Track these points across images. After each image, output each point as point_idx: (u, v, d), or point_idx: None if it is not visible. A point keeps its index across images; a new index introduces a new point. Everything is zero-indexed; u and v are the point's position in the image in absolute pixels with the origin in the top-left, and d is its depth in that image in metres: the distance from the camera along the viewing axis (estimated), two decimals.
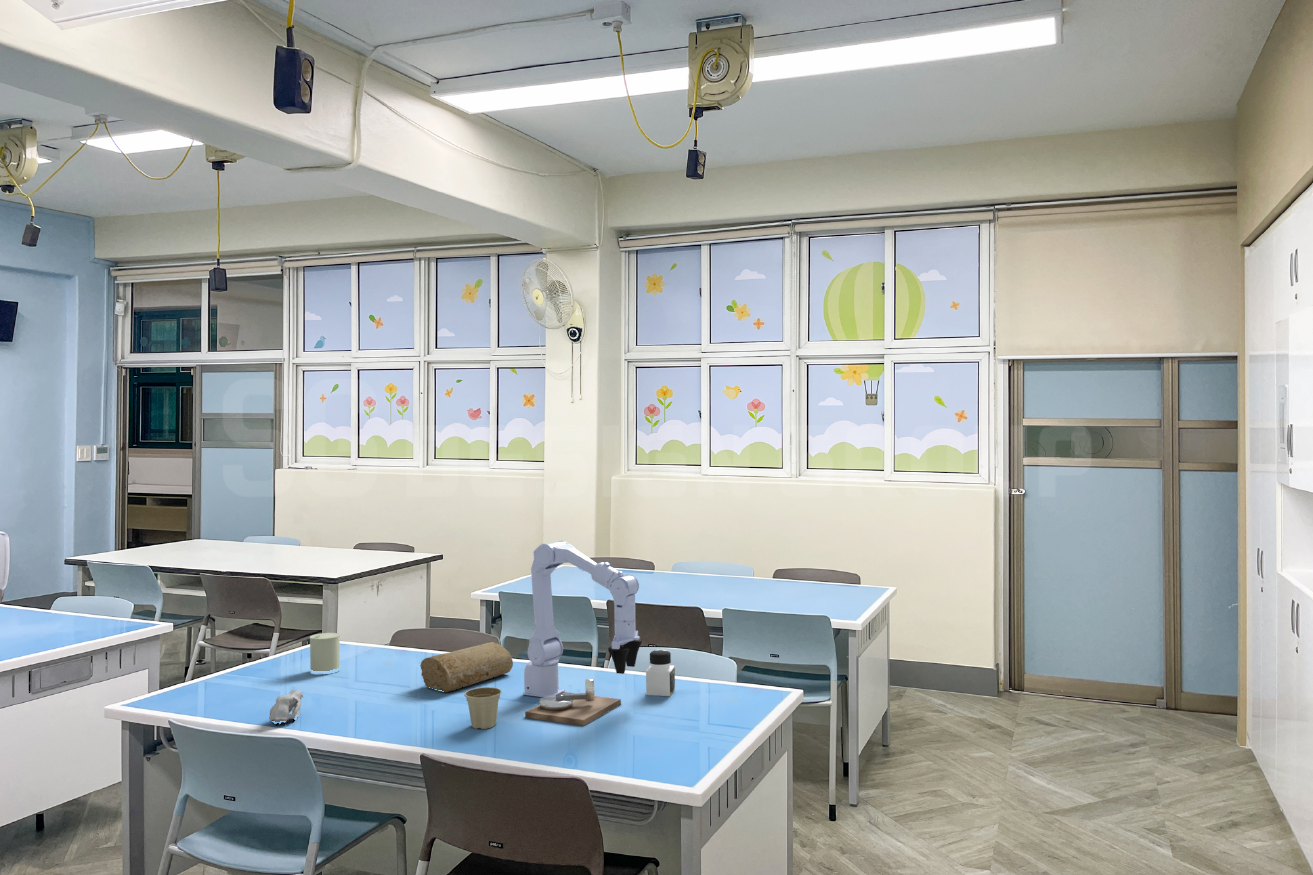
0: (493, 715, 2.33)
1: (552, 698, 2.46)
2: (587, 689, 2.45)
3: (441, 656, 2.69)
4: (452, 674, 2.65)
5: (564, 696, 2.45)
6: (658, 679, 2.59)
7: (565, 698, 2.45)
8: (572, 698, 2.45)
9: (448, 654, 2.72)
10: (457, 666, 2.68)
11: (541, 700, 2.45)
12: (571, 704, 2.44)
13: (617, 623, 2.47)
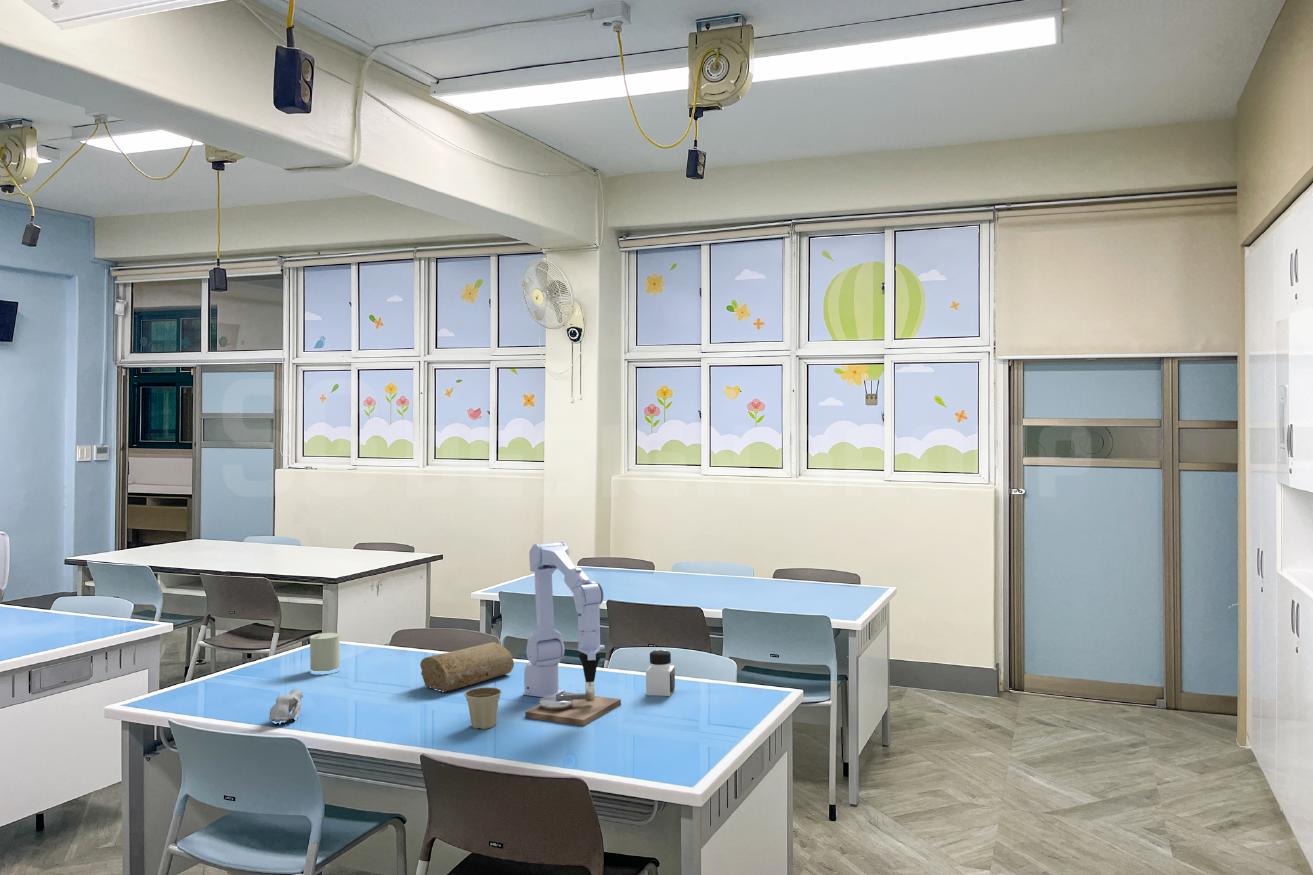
0: (493, 715, 2.33)
1: (552, 698, 2.46)
2: (587, 689, 2.45)
3: (440, 656, 2.70)
4: (450, 674, 2.65)
5: (564, 696, 2.45)
6: (658, 679, 2.59)
7: (565, 698, 2.45)
8: (572, 698, 2.45)
9: (448, 654, 2.73)
10: (455, 666, 2.68)
11: (541, 700, 2.45)
12: (571, 704, 2.44)
13: (585, 633, 2.37)
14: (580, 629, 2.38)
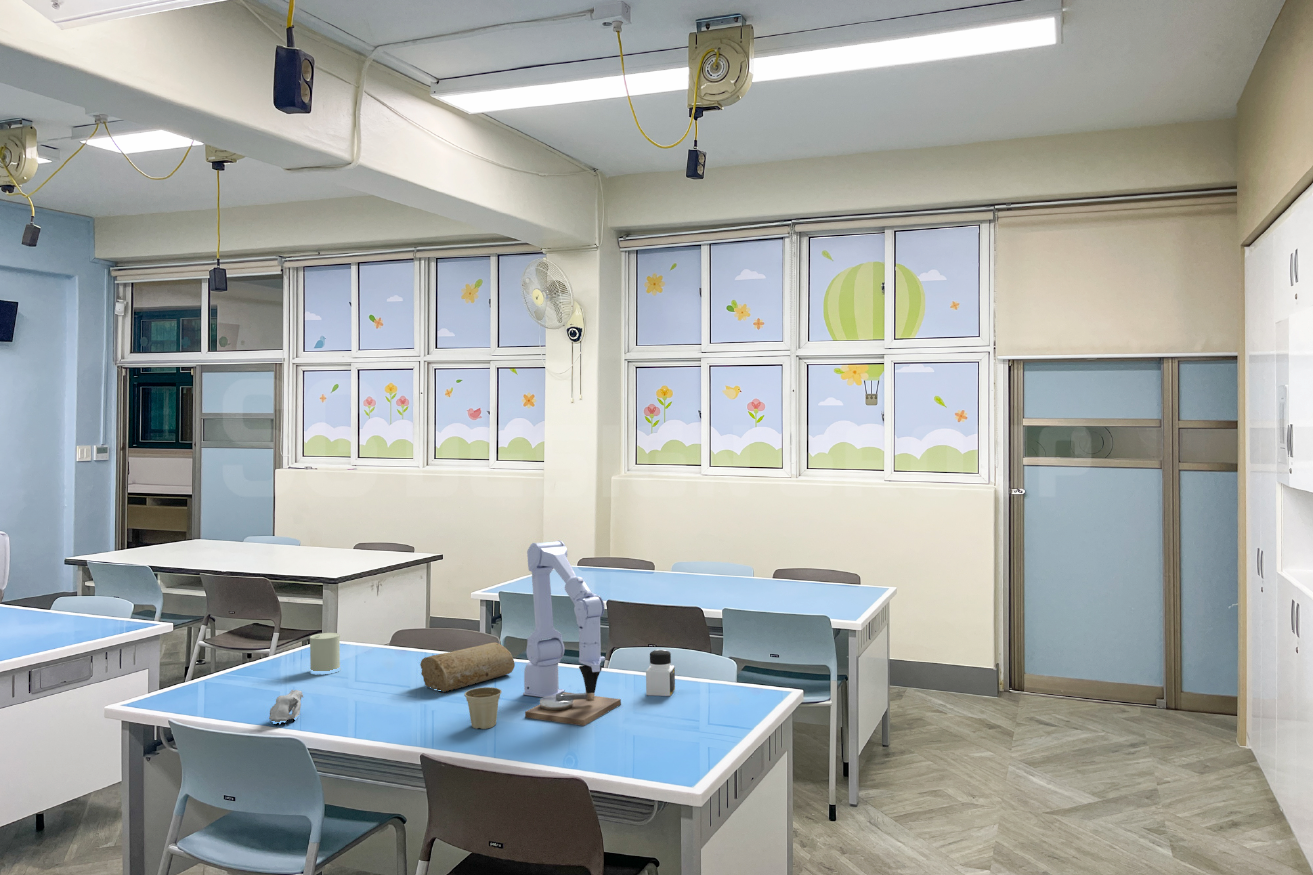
0: (493, 715, 2.33)
1: (552, 698, 2.46)
2: None
3: (440, 656, 2.70)
4: (449, 674, 2.65)
5: (564, 696, 2.45)
6: (658, 679, 2.59)
7: (565, 698, 2.45)
8: (572, 698, 2.45)
9: (447, 654, 2.73)
10: (455, 666, 2.68)
11: (541, 700, 2.45)
12: (571, 704, 2.44)
13: (587, 646, 2.41)
14: (582, 641, 2.42)
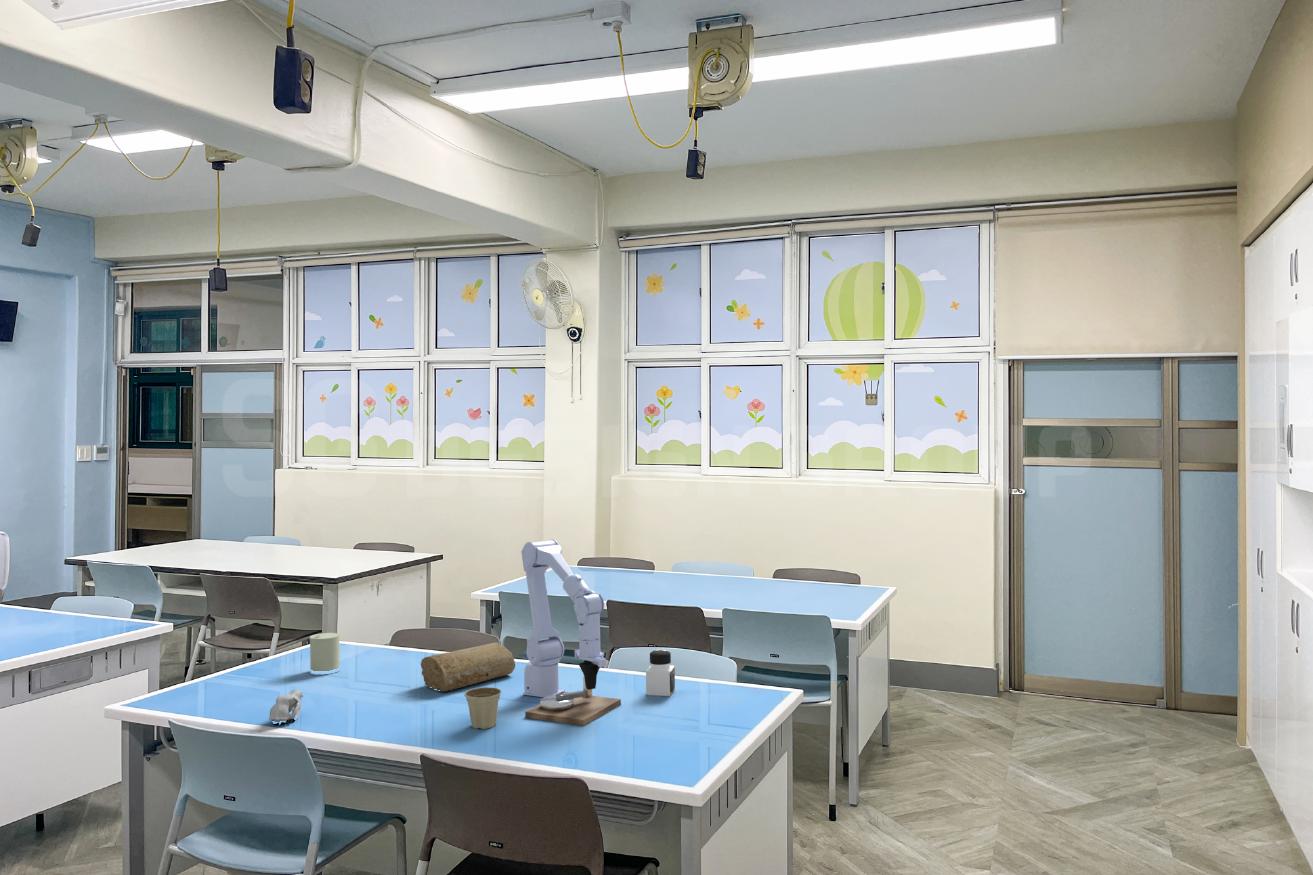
0: (493, 715, 2.33)
1: (551, 699, 2.45)
2: None
3: (440, 656, 2.70)
4: (449, 674, 2.65)
5: (565, 695, 2.45)
6: (658, 679, 2.59)
7: (566, 697, 2.45)
8: (572, 697, 2.46)
9: (448, 654, 2.73)
10: (454, 666, 2.68)
11: (543, 702, 2.43)
12: (573, 702, 2.45)
13: (590, 642, 2.45)
14: (582, 638, 2.45)
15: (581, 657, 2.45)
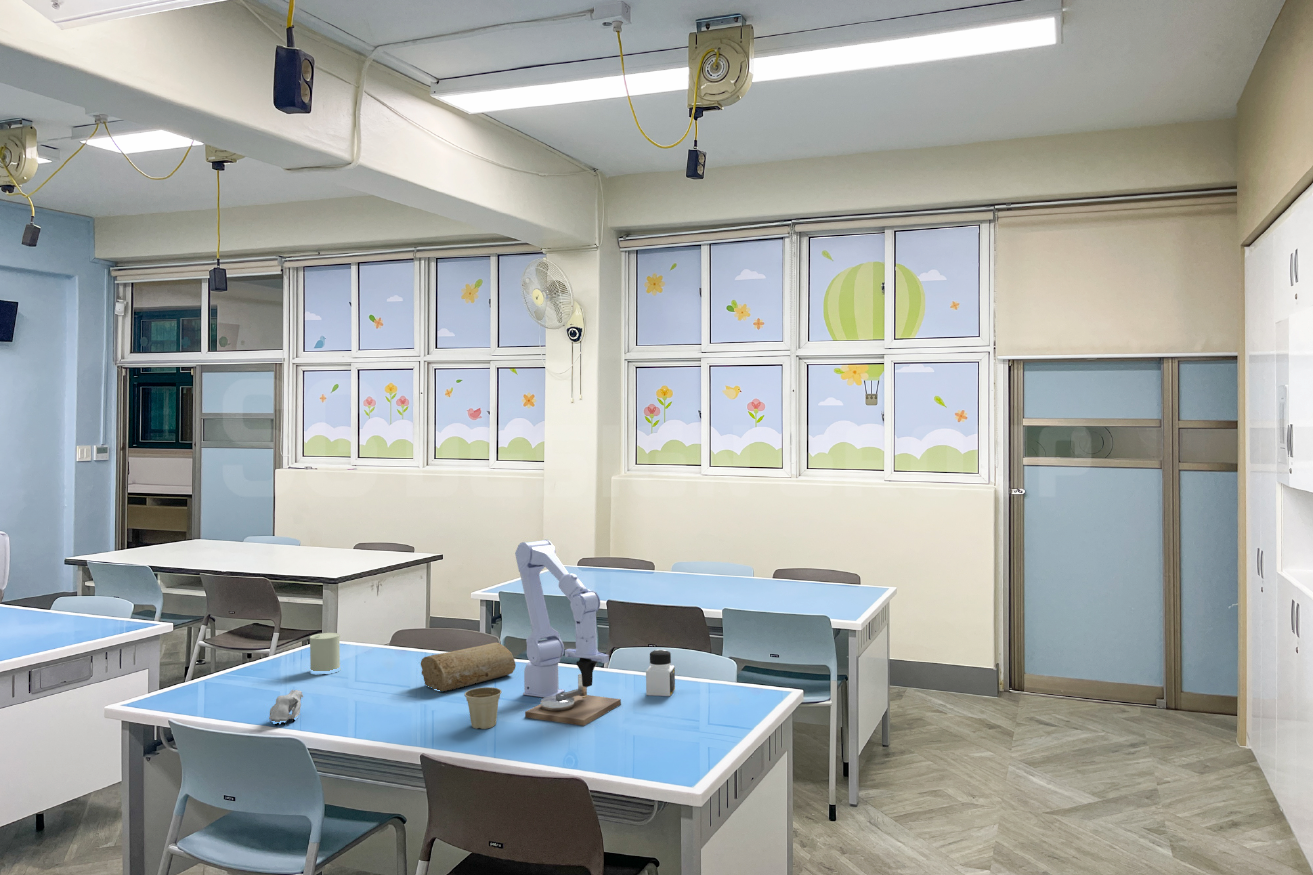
0: (493, 715, 2.33)
1: (552, 700, 2.44)
2: None
3: (439, 656, 2.70)
4: (448, 674, 2.65)
5: (565, 695, 2.46)
6: (658, 679, 2.59)
7: (566, 697, 2.46)
8: (571, 696, 2.47)
9: (447, 654, 2.73)
10: (454, 666, 2.68)
11: (546, 703, 2.42)
12: None
13: (590, 639, 2.48)
14: (579, 636, 2.48)
15: (580, 655, 2.47)
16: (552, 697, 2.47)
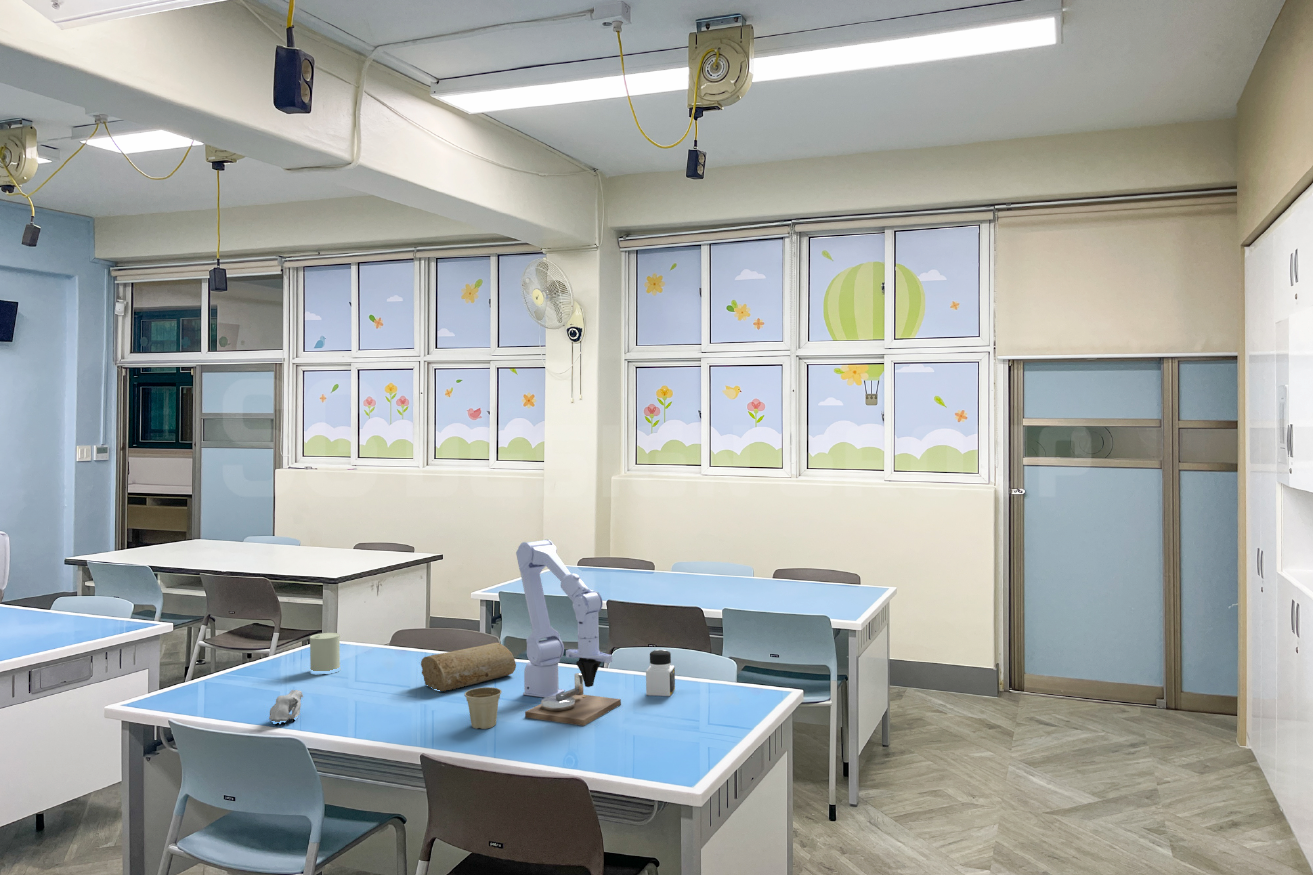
0: (493, 715, 2.33)
1: (552, 700, 2.44)
2: (580, 683, 2.51)
3: (439, 656, 2.70)
4: (447, 674, 2.65)
5: (565, 695, 2.46)
6: (658, 679, 2.59)
7: (566, 696, 2.46)
8: (570, 695, 2.48)
9: (447, 654, 2.73)
10: (453, 666, 2.68)
11: (549, 704, 2.41)
12: None
13: (593, 640, 2.48)
14: (582, 636, 2.48)
15: (583, 655, 2.47)
16: (551, 697, 2.47)
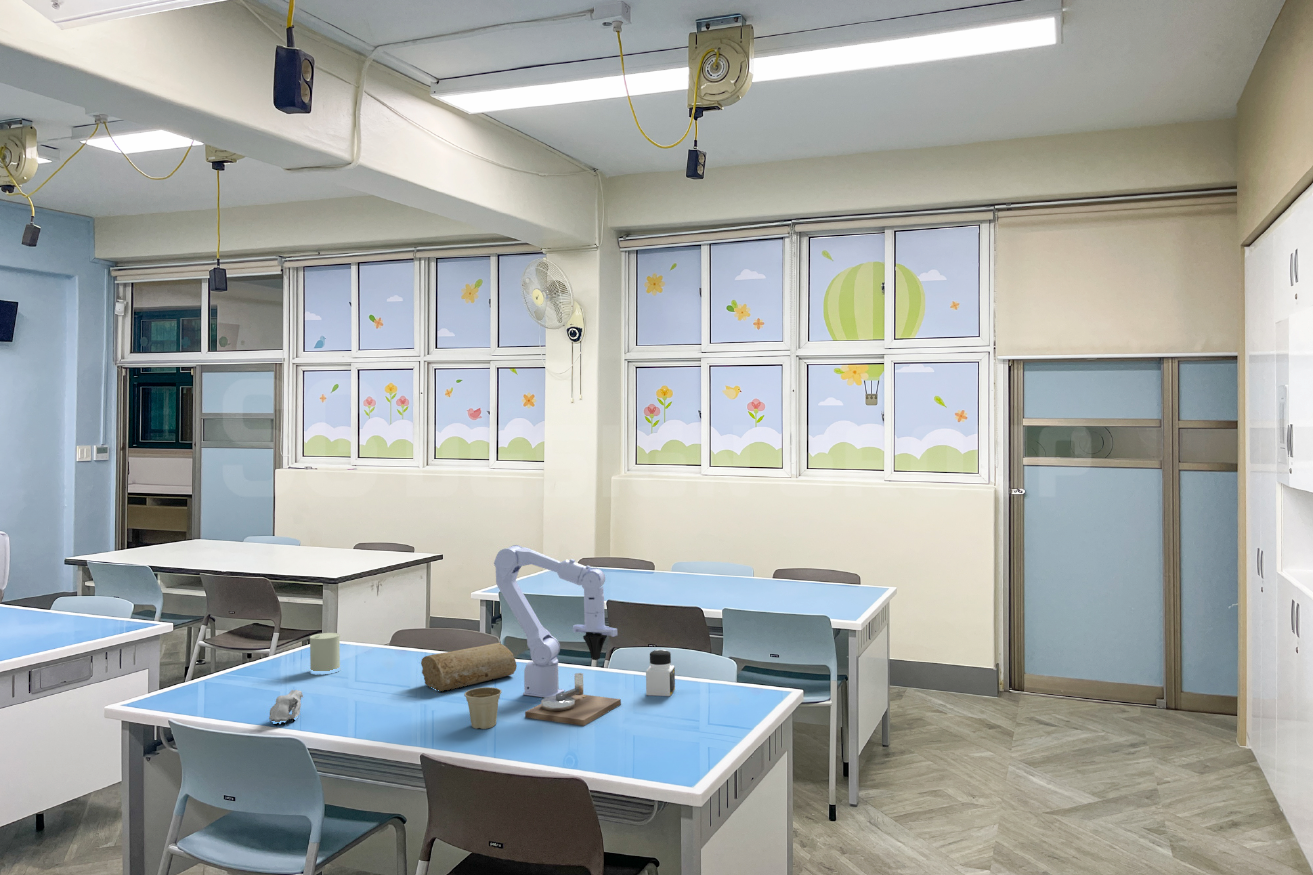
0: (493, 715, 2.33)
1: (552, 700, 2.44)
2: (580, 683, 2.51)
3: (439, 655, 2.71)
4: (446, 674, 2.65)
5: (565, 695, 2.46)
6: (658, 679, 2.59)
7: (566, 696, 2.46)
8: (570, 695, 2.48)
9: (447, 653, 2.73)
10: (452, 666, 2.68)
11: (549, 704, 2.41)
12: None
13: (599, 614, 2.58)
14: (593, 611, 2.57)
15: (590, 629, 2.57)
16: (551, 697, 2.47)
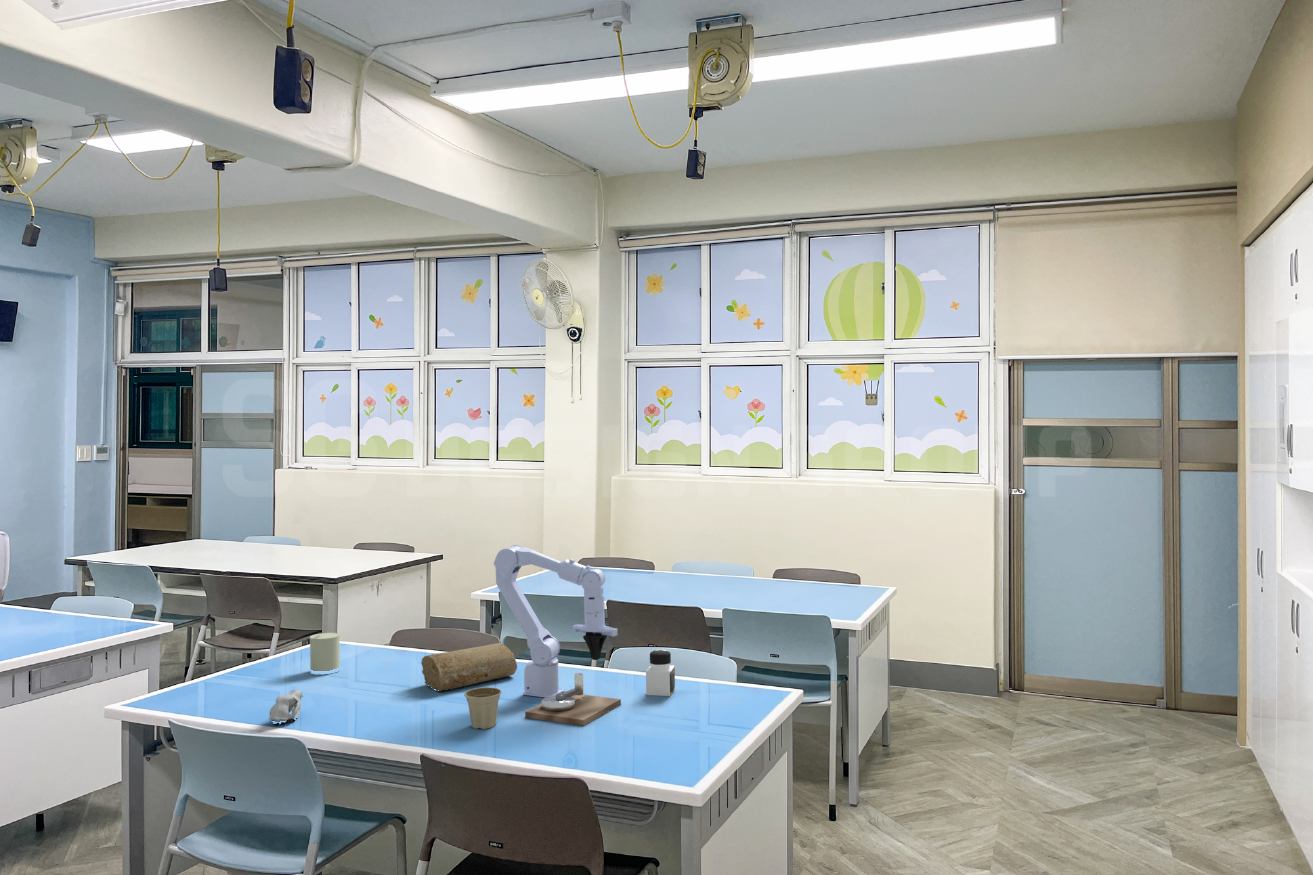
0: (493, 715, 2.33)
1: (552, 700, 2.44)
2: (580, 683, 2.51)
3: (438, 655, 2.71)
4: (445, 673, 2.65)
5: (565, 695, 2.46)
6: (658, 679, 2.59)
7: (566, 696, 2.46)
8: (570, 695, 2.48)
9: (447, 653, 2.73)
10: (451, 665, 2.68)
11: (549, 704, 2.41)
12: None
13: (599, 614, 2.58)
14: (593, 611, 2.57)
15: (590, 629, 2.57)
16: (551, 697, 2.47)
